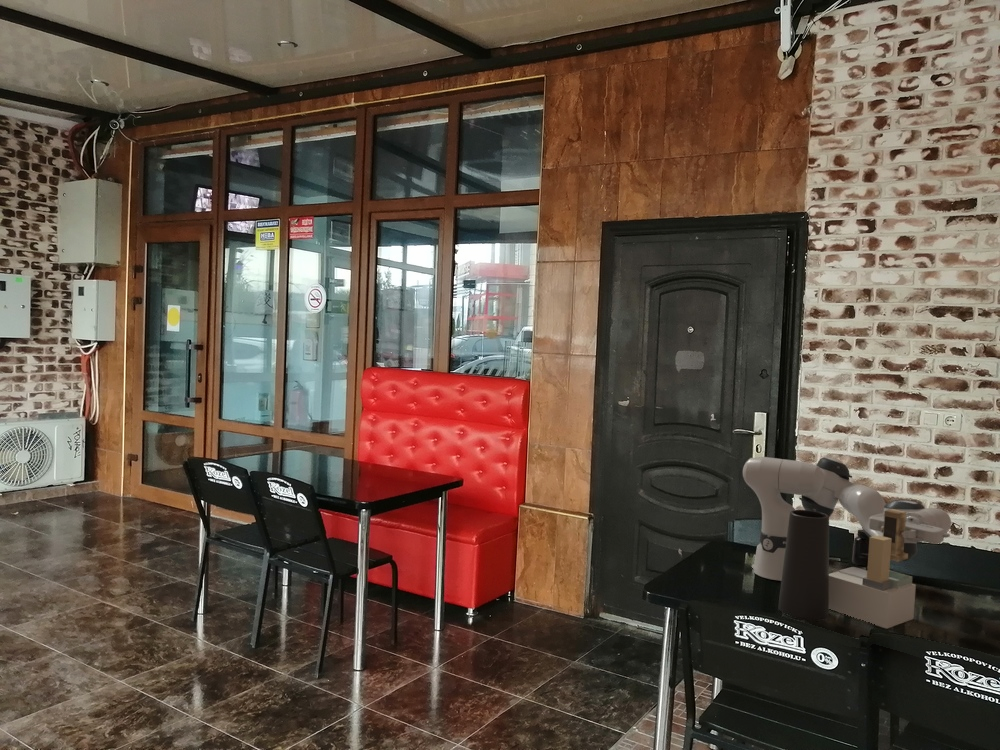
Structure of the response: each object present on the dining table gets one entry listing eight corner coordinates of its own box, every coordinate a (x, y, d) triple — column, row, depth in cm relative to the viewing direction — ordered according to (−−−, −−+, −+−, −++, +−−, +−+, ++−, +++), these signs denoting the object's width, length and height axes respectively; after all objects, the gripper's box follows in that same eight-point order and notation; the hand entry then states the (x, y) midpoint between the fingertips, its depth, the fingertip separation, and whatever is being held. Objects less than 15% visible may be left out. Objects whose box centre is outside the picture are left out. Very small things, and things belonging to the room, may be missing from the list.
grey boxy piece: (850, 599, 247) (856, 522, 246) (913, 618, 232) (919, 536, 230) (823, 607, 238) (828, 527, 237) (886, 628, 223) (892, 543, 221)
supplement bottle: (864, 567, 282) (866, 534, 281) (847, 562, 288) (850, 529, 288) (877, 565, 285) (879, 532, 285) (860, 560, 291) (863, 527, 291)
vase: (769, 610, 234) (775, 512, 232) (791, 600, 243) (797, 506, 242) (815, 624, 224) (822, 521, 222) (836, 613, 234) (842, 515, 232)
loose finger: (887, 553, 236) (890, 508, 235) (907, 558, 231) (911, 512, 230) (876, 556, 232) (880, 510, 232) (897, 561, 228) (900, 514, 227)
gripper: (951, 545, 231) (928, 552, 223) (882, 529, 247) (858, 535, 239) (953, 524, 231) (930, 529, 222) (883, 509, 247) (859, 514, 239)
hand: (892, 532), depth 231 cm, fingers closed on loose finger, 4 cm apart
